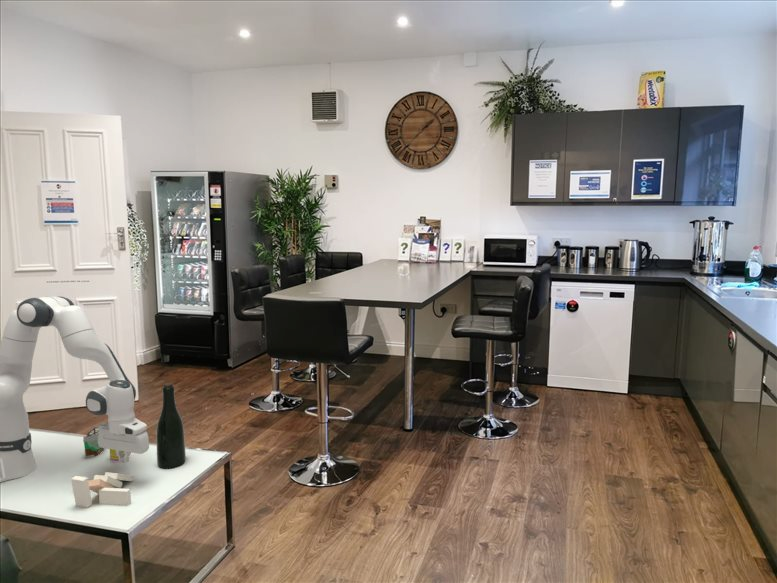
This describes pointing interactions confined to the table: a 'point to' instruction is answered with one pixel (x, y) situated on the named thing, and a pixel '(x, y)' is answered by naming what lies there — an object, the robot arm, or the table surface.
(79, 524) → the table surface
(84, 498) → the domino
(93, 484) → the domino
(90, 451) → the food container
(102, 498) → the domino
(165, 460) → the dark green wine bottle
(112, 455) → the supplement bottle
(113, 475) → the domino
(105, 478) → the domino
